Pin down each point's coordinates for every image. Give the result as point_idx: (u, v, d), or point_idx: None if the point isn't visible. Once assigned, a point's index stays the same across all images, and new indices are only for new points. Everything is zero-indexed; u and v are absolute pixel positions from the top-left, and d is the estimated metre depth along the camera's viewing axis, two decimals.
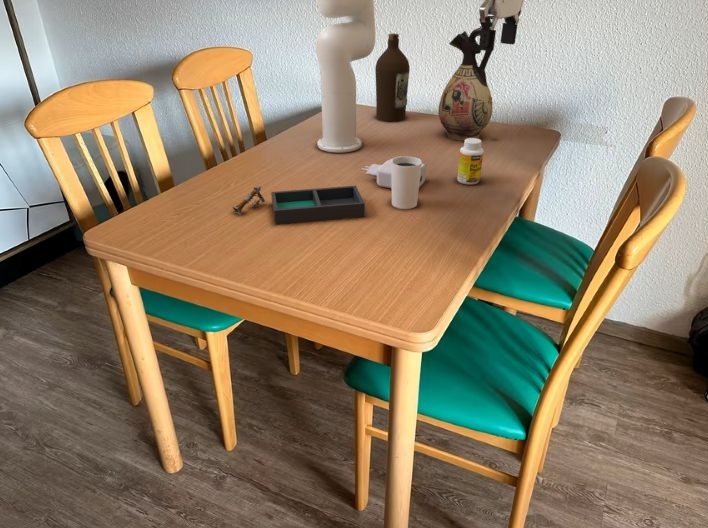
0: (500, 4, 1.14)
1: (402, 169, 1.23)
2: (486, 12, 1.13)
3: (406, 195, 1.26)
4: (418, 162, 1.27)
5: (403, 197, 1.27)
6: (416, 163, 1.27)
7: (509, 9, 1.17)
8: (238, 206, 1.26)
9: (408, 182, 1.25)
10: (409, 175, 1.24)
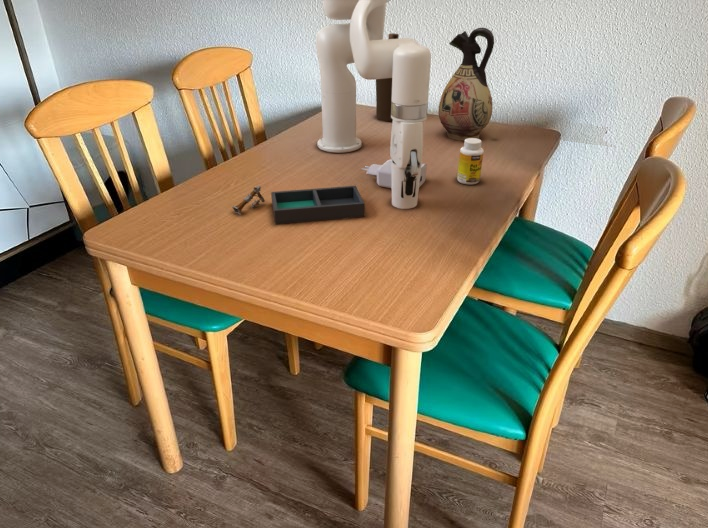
0: (421, 157, 1.20)
1: (402, 169, 1.23)
2: None
3: (406, 195, 1.26)
4: None
5: (403, 196, 1.27)
6: None
7: None
8: (238, 206, 1.26)
9: None
10: None
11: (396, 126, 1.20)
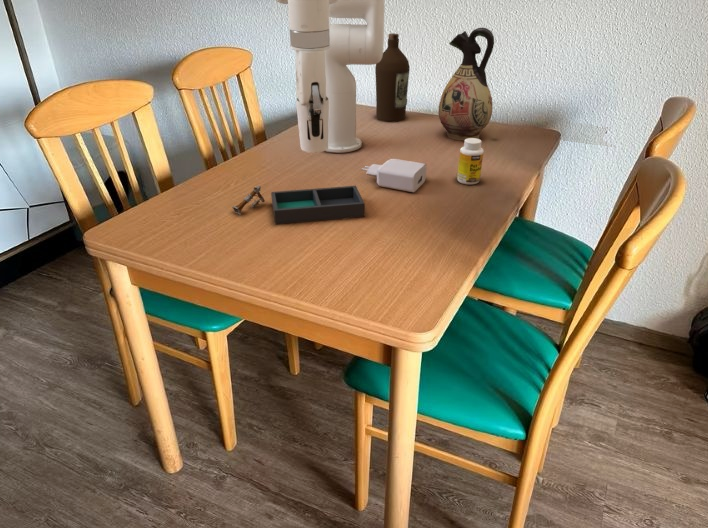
0: (325, 91, 1.09)
1: (306, 106, 1.12)
2: None
3: None
4: (326, 100, 1.16)
5: (310, 138, 1.16)
6: None
7: None
8: (238, 206, 1.26)
9: None
10: None
11: (296, 57, 1.09)
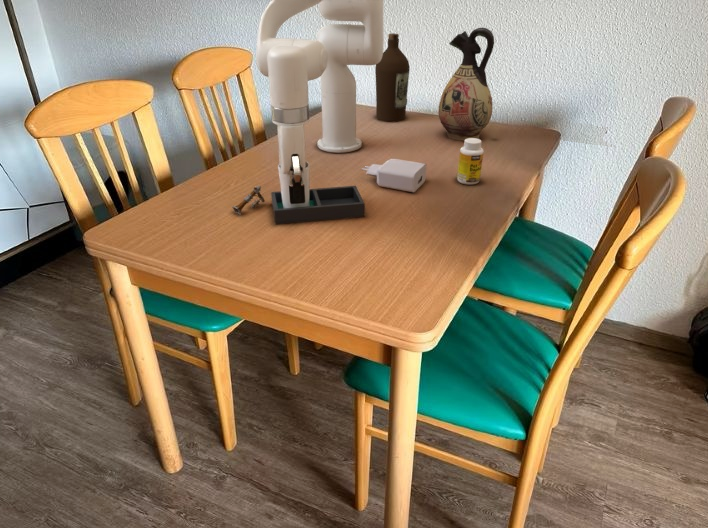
0: (304, 162, 1.16)
1: (287, 173, 1.19)
2: None
3: None
4: (307, 166, 1.23)
5: None
6: (306, 167, 1.23)
7: None
8: (238, 206, 1.26)
9: None
10: None
11: None
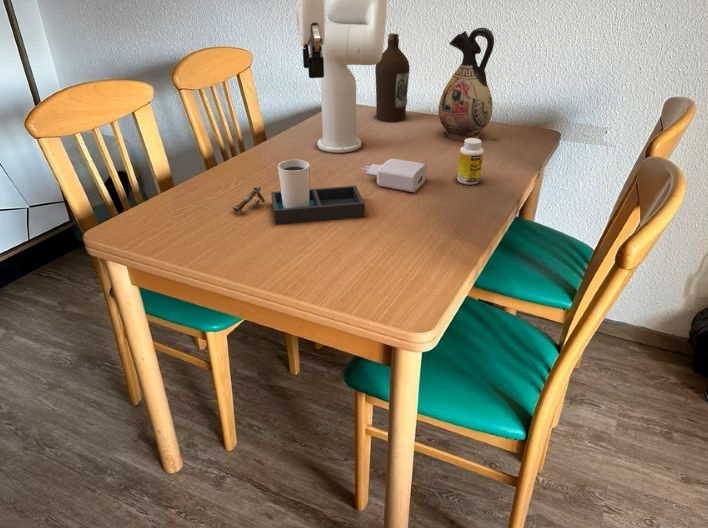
0: (324, 32, 1.16)
1: (287, 173, 1.19)
2: (319, 41, 1.14)
3: (294, 200, 1.22)
4: (307, 166, 1.23)
5: (292, 201, 1.23)
6: (306, 167, 1.23)
7: None
8: (238, 206, 1.26)
9: (295, 187, 1.21)
10: (295, 179, 1.20)
11: (297, 0, 1.16)
